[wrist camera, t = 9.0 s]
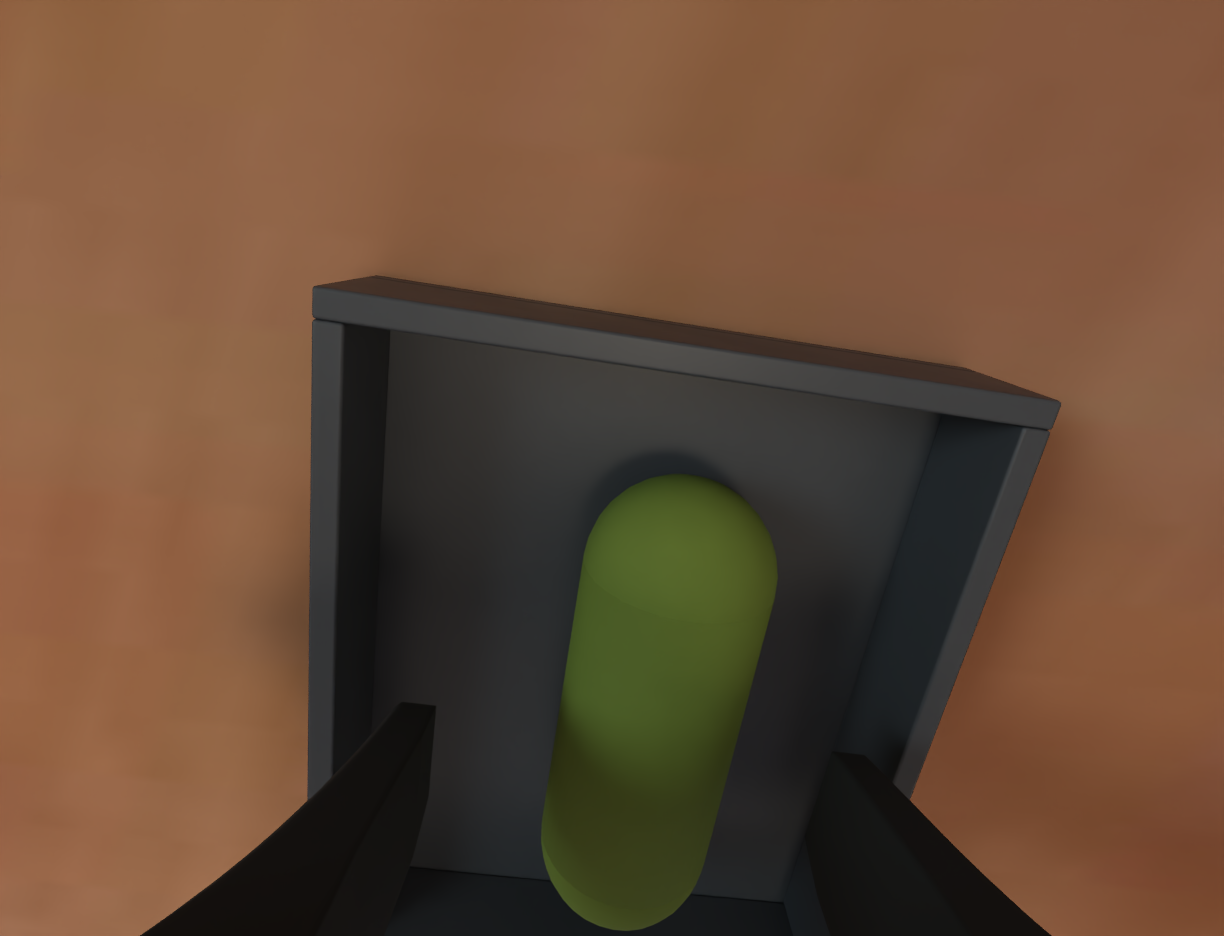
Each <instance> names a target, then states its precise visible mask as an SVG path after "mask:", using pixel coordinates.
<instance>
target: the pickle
mask: <svg viewBox="0 0 1224 936" xmlns="http://www.w3.org/2000/svg"><path fill="white" fill-rule="evenodd" d="M777 580H778V573H777V559H776V554H775V550H774V546H773V543H772V540H771V536H770V534H769V532H768V530H767V529H766V527H765V525H764V523H763V521H762V520H761V518H760V516H759V515H758V513H757V512H756V511H755V510H754V509H753V508H752V507H751V506H750V504H749V503H748V502H747V501H746V500H745V499H744V498H743V497H741V496H740V495H738V494H737V493H736V492H734V491H733V490H731V489H730V488H728V487H727V486H725V485H723V484H721V483H719V482H717V481H714V480H711V479H708V478H705V477H701V476H696V475H689V474H668V475H662V476H657V477H653V478H649V479H646V480H644V481H642V482H640V483H638V484H635V485H633V486H631V487H629V488H628V489H626V490H625V491H624V492H622V493H621V494H620V495H618V496H617V497H616V498H615V499H614V500H612V501H611V502H610V503H609V504H608V506H607V507H606V508H605V509H604V510H603V512H602V513H601V514H600V515H599V517H598V519H597V521H596V523H595V525H594V527H593V529H592V531H591V533H590V535H589V537H588V540H587V544H586V548H585V551H584V556H583V562H582V569H581V575H580V581H579V588H578V594H577V601H576V607H575V613H574V620H573V626H572V632H571V639H570V645H569V651H568V658H567V664H566V670H565V677H564V683H563V690H562V696H561V702H560V709H559V715H558V721H557V728H556V734H555V740H554V747H553V753H552V759H551V766H550V772H549V779H548V785H547V791H546V798H545V804H544V810H543V817H542V830H541V844H542V851H543V857H544V861H545V865H546V869H547V871H548V874H549V876H550V879H551V881H552V883H553V885H554V886H555V888H556V889H557V891H558V893H559V894H560V896H561V897H562V899H563V900H564V901H565V902H566V903H567V904H568V906H569V907H570V908H571V909H572V910H573V911H574V912H576V913H577V914H578V915H580V916H581V917H583V918H584V919H585V920H587V921H589V922H592V923H594V924H596V925H598V926H601V927H604V928H608V929H612V930H622V931H630V930H639V929H643V928H646V927H649V926H652V925H654V924H656V923H658V922H660V921H662V920H663V919H665V918H667V917H668V916H670V915H671V914H673V913H674V912H675V911H676V910H677V909H678V908H679V907H680V906H681V905H682V904H683V902H684V901H685V900H686V899H687V898H688V897H689V895H690V894H691V892H692V890H693V888H694V887H695V885H696V883H697V881H698V879H699V876H700V874H701V871H702V868H703V865H704V862H705V858H706V854H707V851H708V847H709V843H710V839H711V836H712V832H713V828H714V824H715V821H716V817H717V813H718V809H719V806H720V802H721V798H722V794H723V791H724V787H725V783H726V779H727V776H728V772H729V768H730V764H731V761H732V757H733V753H734V749H735V746H736V742H737V738H738V734H739V731H740V727H741V723H742V719H743V716H744V712H745V708H746V704H747V701H748V697H749V693H750V689H751V686H752V682H753V678H754V674H755V671H756V667H757V663H758V659H759V656H760V652H761V648H762V644H763V641H764V637H765V633H766V629H767V626H768V622H769V618H770V614H771V611H772V607H773V603H774V599H775V593H776V587H777Z"/></svg>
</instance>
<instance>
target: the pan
mask: <svg viewBox="0 0 1224 936" xmlns="http://www.w3.org/2000/svg"><path fill="white" fill-rule="evenodd" d="M312 315H313V317H314V318H316V319H314V320H313V322H312V401H311V502H310V603H309V704H308V800H309V799H310V798H311V797H312V796H313V795H314V794H315V793H316V792H318V791H319V790H320V789H321V788H322V787H323V786H324V784H325V783H326V782H327V781H328V780H329V779H330V778H331V777H332V776H333V775H334V774H335V773H336V772H337V771H338V770H339V769H340V768H341V767H342V766H343V765H344V764H345V763H346V762H347V761H348V760H349V759H350V758H351V757H352V755H353V754H354V753H355V752H356V751H357V750H358V749H359V748H360V747H361V745H362V744H363V743H364V742H365V741H366V740H367V739H368V738H369V737H370V735H371V734H372V733H373V732H374V731H375V730H376V728H377V727H378V726H379V725H380V724H381V723H382V721H383V720H384V719H385V718H386V717H387V715H388V714H389V713H390V712H391V710H392V709H393V708H394V707H395V706H396V705H397V704H399V703H400V702H409V703H418V704H426V705H435V706H436V716H435V728H434V739H433V751H432V763H431V774H430V786H429V797H428V801H427V805H426V809H425V813H424V817H423V821H422V825H421V829H420V832H419V836H418V840H417V844H416V847H415V851H414V855H413V858H412V861H411V864H410V867H409V869H408V872H407V875H406V878H405V880H404V883H403V886H402V888H401V891H400V894H399V897H398V899H397V902H396V905H395V907H394V910H393V913H392V916H391V918H390V921H389V924H388V926H387V929H386V932H385V934H384V936H830V933H829V930H828V927H827V924H826V921H825V918H824V915H823V912H822V909H821V906H820V903H819V900H818V897H817V892H816V888H815V884H814V879H813V875H812V871H811V866H810V861H809V856H808V851H807V846H806V841H805V834H806V831H807V828H808V825H809V822H810V819H811V815H812V812H813V809H814V806H815V803H816V800H817V797H818V794H819V791H820V788H821V784H822V781H823V778H824V775H825V772H826V769H827V766H828V763H829V760H830V757H831V753H832V751H835V752H844V753H852V754H861V755H865V756H866V757H867V758H868V759H869V760H870V761H871V762H872V763H873V764H875V765H876V766H877V767H878V768H879V769H880V770H881V771H882V772H883V773H884V775H885V776H886V777H887V778H888V779H889V780H890V781H891V782H892V783H893V784H894V785H895V786H896V787H897V788H898V789H899V790H900V791H901V792H902V793H903V794H904V795H905V796H906V797H907V798H908V799H909V800H910V798H911V795H912V793H913V790H914V787H915V785H916V782H917V780H918V777H919V774H920V772H921V769H922V767H923V764H924V761H925V759H926V756H927V753H928V751H929V748H930V746H931V743H932V740H933V738H934V735H935V733H936V730H937V727H938V725H939V722H940V720H941V717H942V714H943V712H944V709H945V707H946V704H947V701H948V699H949V696H950V693H951V691H952V688H953V686H954V683H955V680H956V678H957V675H958V673H959V670H960V667H961V665H962V662H963V660H964V657H965V654H966V652H967V649H968V647H969V644H970V641H971V639H972V636H973V633H974V631H975V628H976V626H977V623H978V620H979V618H980V615H981V613H982V610H983V607H984V605H985V602H986V600H987V597H988V594H989V592H990V589H991V587H992V584H993V581H994V579H995V576H996V573H997V571H998V568H999V566H1000V563H1001V560H1002V558H1003V555H1004V553H1005V550H1006V547H1007V545H1008V542H1009V540H1010V537H1011V534H1012V532H1013V529H1014V527H1015V524H1016V521H1017V519H1018V516H1019V513H1020V511H1021V508H1022V506H1023V503H1024V500H1025V498H1026V495H1027V493H1028V490H1029V487H1030V485H1031V482H1032V480H1033V477H1034V474H1035V472H1036V469H1037V467H1038V464H1039V461H1040V459H1041V456H1042V454H1043V451H1044V448H1045V446H1046V443H1047V440H1048V438H1049V435H1050V432H1049V431H1048V430H1049V429H1052V427H1053V425H1054V422H1055V420H1056V417H1057V414H1058V412H1059V409H1060V407H1061V402H1059V401H1058V400H1055V399H1052V398H1049V397H1046V396H1043V395H1041V394H1038V393H1035V392H1032V391H1029V390H1026V389H1024V388H1021V387H1018V386H1015V385H1012V384H1009V383H1007V382H1004V381H1001V380H998V379H995V378H992V377H990V376H987V375H984V374H981V373H977V372H975V371H972V370H970V369H967V368H962V367H955V366H949V365H943V364H936V363H930V362H923V361H917V360H911V359H904V358H898V357H892V356H885V355H879V354H873V353H866V352H860V351H854V350H847V349H841V348H834V347H828V346H822V345H815V344H809V343H803V342H796V341H790V340H784V339H777V338H771V337H764V336H758V335H752V334H745V333H739V332H733V331H726V330H720V329H714V328H707V327H701V326H695V325H688V324H682V323H675V322H669V321H663V320H656V319H650V318H644V317H637V316H631V315H625V314H618V313H612V312H605V311H599V310H593V309H586V308H580V307H574V306H567V305H561V304H555V303H548V302H542V301H535V300H529V299H523V298H516V297H510V296H504V295H497V294H491V293H485V292H478V291H472V290H466V289H459V288H453V287H446V286H440V285H434V284H427V283H421V282H415V281H408V280H402V279H396V278H389V277H383V276H371V277H365V278H359V279H353V280H347V281H341V282H335V283H329V284H323V285H317V286H314V287H313V301H312ZM668 474H689V475H696V476H701V477H705V478H708V479H711V480H714V481H717V482H719V483H721V484H723V485H725V486H727V487H728V488H730V489H731V490H733V491H734V492H736V493H737V494H738V495H740V496H741V497H743V498H744V499H745V500H746V501H747V502H748V503H749V504H750V506H751V507H752V508H753V509H754V510H755V511H756V512H757V513H758V515H759V516H760V518H761V520H762V521H763V523H764V525H765V527H766V529H767V530H768V532H769V534H770V536H771V540H772V543H773V546H774V550H775V554H776V559H777V573H778V580H777V587H776V593H775V599H774V603H773V607H772V611H771V614H770V618H769V622H768V626H767V629H766V633H765V637H764V641H763V644H762V648H761V652H760V656H759V659H758V663H757V667H756V671H755V674H754V678H753V682H752V686H751V689H750V693H749V697H748V701H747V704H746V708H745V712H744V716H743V719H742V723H741V727H740V731H739V734H738V738H737V742H736V746H735V749H734V753H733V757H732V761H731V764H730V768H729V772H728V776H727V779H726V783H725V787H724V791H723V794H722V798H721V802H720V806H719V809H718V813H717V817H716V821H715V824H714V828H713V832H712V836H711V839H710V843H709V847H708V851H707V854H706V858H705V862H704V865H703V868H702V871H701V874H700V876H699V879H698V881H697V883H696V885H695V887H694V888H693V890H692V892H691V894H690V895H689V897H688V898H687V899H686V900H685V901H684V902H683V904H682V905H681V906H680V907H679V908H678V909H677V910H676V911H675V912H674V913H673V914H671V915H670V916H668V917H667V918H665V919H663V920H662V921H660V922H658V923H656V924H654V925H652V926H649V927H646V928H643V929H639V930H630V931H622V930H612V929H608V928H604V927H601V926H598V925H596V924H594V923H592V922H589V921H587V920H585V919H584V918H583V917H581V916H580V915H578V914H577V913H576V912H574V911H573V910H572V909H571V908H570V907H569V906H568V904H567V903H566V902H565V901H564V900H563V899H562V897H561V896H560V894H559V893H558V891H557V889H556V888H555V886H554V885H553V883H552V881H551V879H550V876H549V874H548V871H547V869H546V865H545V861H544V857H543V851H542V844H541V830H542V817H543V810H544V804H545V798H546V791H547V785H548V779H549V772H550V766H551V759H552V753H553V747H554V740H555V734H556V728H557V721H558V715H559V709H560V702H561V696H562V690H563V683H564V677H565V670H566V664H567V658H568V651H569V645H570V639H571V632H572V626H573V620H574V613H575V607H576V601H577V594H578V588H579V581H580V575H581V569H582V562H583V556H584V551H585V548H586V544H587V540H588V537H589V535H590V533H591V531H592V529H593V527H594V525H595V523H596V521H597V519H598V517H599V515H600V514H601V513H602V512H603V510H604V509H605V508H606V507H607V506H608V504H609V503H610V502H611V501H612V500H614V499H615V498H616V497H617V496H618V495H620V494H621V493H622V492H624V491H625V490H626V489H628V488H629V487H631V486H633V485H635V484H638V483H640V482H642V481H644V480H646V479H649V478H653V477H657V476H662V475H668Z"/></svg>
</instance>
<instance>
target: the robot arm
mask: <svg viewBox="0 0 1224 936" xmlns="http://www.w3.org/2000/svg"><path fill="white" fill-rule="evenodd" d="M435 716H436V706H435V705H426V704H418V703H409V702H400V703H399V704H397V705H396V706H395V707H394V708H393V709H392V710H391V712H390V713H389V714H388V715H387V717H386V718H385V719H384V720H383V721H382V723H381V724H380V725H379V726H378V727H377V728H376V730H375V731H374V732H373V733H372V734H371V735H370V737H369V738H368V739H367V740H366V741H365V742H364V743H363V744H362V745H361V747H360V748H359V749H358V750H357V751H356V752H355V753H354V754H353V755H352V757H351V758H350V759H349V760H348V761H347V762H346V763H345V764H344V765H343V766H342V767H341V768H340V769H339V770H338V771H337V772H336V773H335V774H334V775H333V776H332V777H331V778H330V779H329V780H328V781H327V782H326V783H325V784H324V786H323V787H322V788H321V789H320V790H319V791H318V792H316V793H315V794H314V795H313V796H312V797H311V798H310V799H309V800H308V801H307V802H306V803H305V804H304V805H303V806H302V807H301V808H300V809H298V810H297V811H296V812H295V813H294V814H293V815H292V816H291V817H290V818H289V819H288V820H287V821H286V822H285V823H283V824H282V825H281V826H280V827H279V828H278V829H277V830H276V831H275V832H274V833H272V834H271V835H270V836H269V837H268V838H267V839H266V840H264V841H263V842H262V843H261V844H260V845H259V846H258V847H256V848H255V849H254V850H253V851H252V852H250V853H249V854H248V855H247V856H246V857H244V858H243V859H242V860H241V861H239V862H238V863H237V864H236V865H235V866H233V867H232V868H231V869H230V870H228V871H227V872H226V873H225V874H223V875H222V876H221V877H220V878H218V879H217V880H216V881H215V882H213V883H212V884H211V885H209V886H208V887H207V888H205V889H204V890H203V891H201V892H200V893H198V894H197V895H196V896H194V897H193V898H192V899H190V900H189V901H188V902H186V903H185V904H184V905H182V906H181V907H180V908H178V909H177V910H176V911H174V912H173V913H172V914H170V915H169V916H167V917H166V918H165V919H163V920H162V921H160V922H159V923H158V924H156V925H155V926H153V927H152V928H150V929H149V930H148V931H146V932H145V933H143V934H142V935H140V936H384V934H385V932H386V929H387V926H388V924H389V921H390V918H391V916H392V913H393V910H394V907H395V905H396V902H397V899H398V897H399V894H400V891H401V888H402V886H403V883H404V880H405V878H406V875H407V872H408V869H409V867H410V864H411V861H412V858H413V855H414V851H415V847H416V844H417V840H418V836H419V832H420V829H421V825H422V821H423V817H424V813H425V809H426V805H427V801H428V797H429V786H430V774H431V763H432V751H433V739H434V728H435ZM805 841H806V846H807V851H808V856H809V861H810V866H811V871H812V875H813V879H814V884H815V888H816V892H817V897H818V900H819V903H820V906H821V909H822V912H823V915H824V918H825V921H826V924H827V927H828V930H829V933H830V936H1051V935H1050V934H1049V933H1048V932H1046V931H1045V930H1044V929H1043V928H1042V927H1041V926H1039V925H1038V924H1037V923H1036V922H1035V921H1034V920H1033V919H1031V918H1030V917H1029V916H1028V915H1027V914H1026V913H1025V912H1023V911H1022V910H1021V909H1020V908H1019V907H1018V906H1017V905H1016V904H1015V903H1014V902H1013V901H1011V900H1010V899H1009V898H1008V897H1007V896H1006V895H1005V894H1004V893H1003V892H1002V891H1001V890H1000V889H998V888H997V887H996V886H995V885H994V884H993V883H992V882H991V881H990V880H989V879H988V878H987V877H986V876H985V875H983V874H982V873H981V872H980V871H979V870H978V869H977V868H976V867H975V866H974V865H973V864H972V863H971V862H970V861H969V860H968V859H967V858H966V857H965V856H964V855H963V854H962V853H961V852H960V851H959V850H958V849H957V848H956V847H955V846H954V845H953V844H952V843H951V842H950V841H949V840H948V839H947V838H946V837H945V836H944V835H943V834H942V833H941V832H940V831H939V830H938V829H937V828H936V827H935V826H934V825H933V824H932V823H931V822H930V821H929V820H928V819H927V818H926V817H925V816H924V815H923V814H922V813H921V812H920V811H919V810H918V809H917V808H916V806H915V805H914V804H913V803H912V802H911V801H910V800H909V799H908V798H907V797H906V796H905V795H904V794H903V793H902V792H901V791H900V790H899V789H898V788H897V787H896V786H895V785H894V784H893V783H892V782H891V781H890V780H889V779H888V778H887V777H886V776H885V775H884V773H883V772H882V771H881V770H880V769H879V768H878V767H877V766H876V765H875V764H873V763H872V762H871V761H870V760H869V759H868V758H867V757H866V756H865V755H861V754H852V753H844V752H835V751H832V753H831V757H830V760H829V763H828V766H827V769H826V772H825V775H824V778H823V781H822V784H821V788H820V791H819V794H818V797H817V800H816V803H815V806H814V809H813V812H812V815H811V819H810V822H809V825H808V828H807V831H806V834H805Z"/></svg>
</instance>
